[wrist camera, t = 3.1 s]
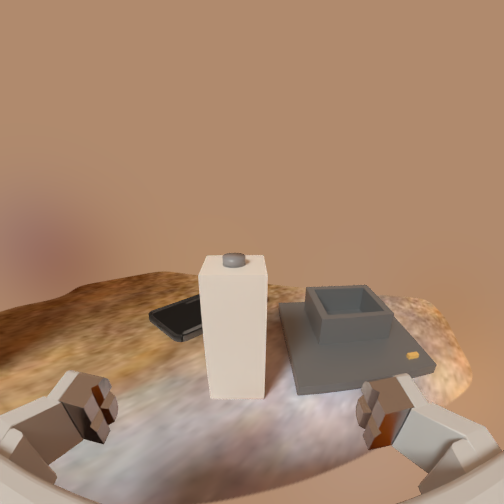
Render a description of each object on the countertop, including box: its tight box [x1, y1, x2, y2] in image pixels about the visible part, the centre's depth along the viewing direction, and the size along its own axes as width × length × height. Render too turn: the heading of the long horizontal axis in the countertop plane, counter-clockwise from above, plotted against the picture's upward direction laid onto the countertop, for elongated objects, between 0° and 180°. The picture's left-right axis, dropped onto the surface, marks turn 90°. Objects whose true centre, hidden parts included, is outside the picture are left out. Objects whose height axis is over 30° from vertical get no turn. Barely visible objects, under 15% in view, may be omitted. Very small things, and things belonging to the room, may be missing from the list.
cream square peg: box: [198, 253, 268, 399], centre depth 21 cm, size 4×4×12 cm
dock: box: [279, 285, 436, 395], centre depth 28 cm, size 14×16×4 cm
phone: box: [149, 294, 203, 342], centre depth 36 cm, size 8×1×15 cm
